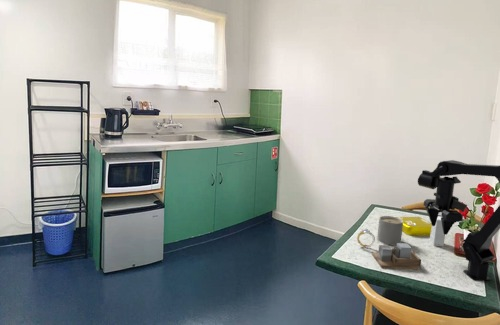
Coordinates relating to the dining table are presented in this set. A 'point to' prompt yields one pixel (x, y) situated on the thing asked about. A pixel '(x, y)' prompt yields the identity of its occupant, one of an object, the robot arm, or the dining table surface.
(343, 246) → the dining table surface
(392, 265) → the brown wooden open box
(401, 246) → the block
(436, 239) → the skincare box
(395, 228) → the coffee mug
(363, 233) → the ring
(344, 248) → the dining table surface
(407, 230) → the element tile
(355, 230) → the dining table surface
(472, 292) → the dining table surface
